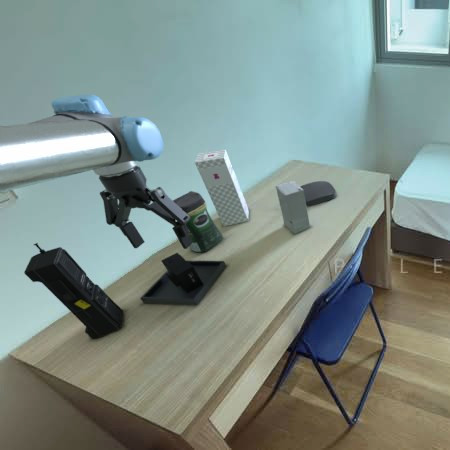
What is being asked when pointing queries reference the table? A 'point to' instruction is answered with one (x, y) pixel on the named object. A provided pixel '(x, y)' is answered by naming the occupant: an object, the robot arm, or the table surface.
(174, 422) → the table surface
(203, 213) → the coffee jar
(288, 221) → the cosmetic box
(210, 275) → the shallow black tray
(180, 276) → the digital camera
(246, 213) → the box
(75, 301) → the portable radio
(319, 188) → the media streaming box
